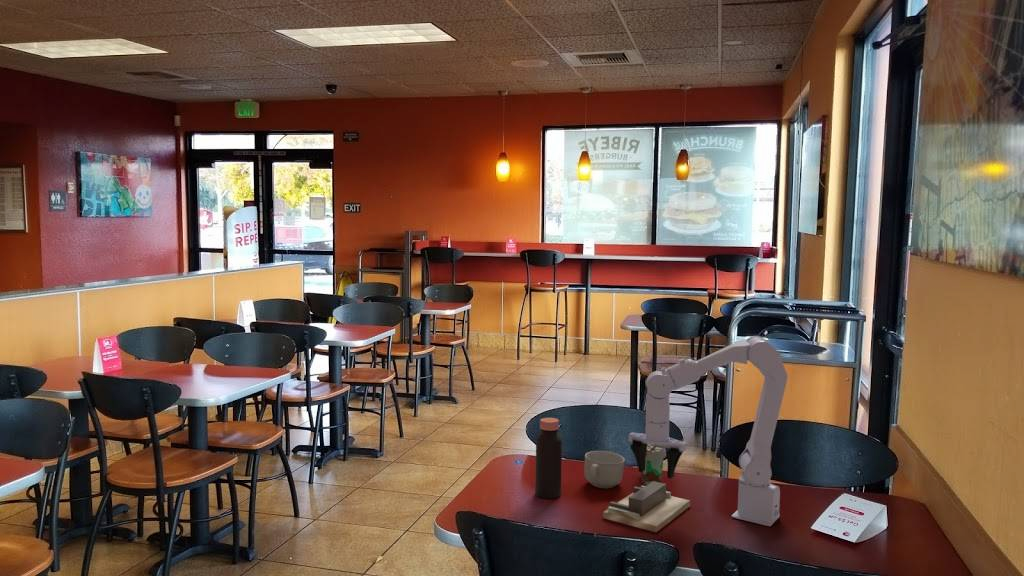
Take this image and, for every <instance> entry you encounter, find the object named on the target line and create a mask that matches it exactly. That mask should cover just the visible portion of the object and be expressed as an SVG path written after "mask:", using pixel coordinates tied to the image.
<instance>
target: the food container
mask: <svg viewBox="0 0 1024 576" xmlns="http://www.w3.org/2000/svg"><path fill="white" fill-rule="evenodd" d="M666 452H667V450H666V448H665V447H660V446H655V445H650V444H647V449H646V458H645V471H643V472H639V475H640V474H641V476H642V479H643V481H644V483H643V486H644V485H645V486H647V485H648V484H650V483H651V482H653V481H655V482H659V483H662V476H663V468H664V467H663V465H664V458H667V455H666ZM641 476H640V477H641ZM642 479H641V480H642ZM643 481H642V482H643Z"/></svg>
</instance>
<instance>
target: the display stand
mask: <svg viewBox="0 0 1024 576" xmlns="http://www.w3.org/2000/svg"><path fill="white" fill-rule="evenodd" d="M644 487H645V486H644V484H643V485H641V486H640V488H644ZM633 494H635V493H634V491H633V492H632V493H630V494H628V495H627V496H626V497H624V498H622V499H621V500H619V501H618V502H617V503H620V504H624V505H628V506H629V497H630V496H632V495H633ZM690 506H691V500H689V499H686V498H681V497H677V496H673V495H672V492H671V491H667V490H666V500H664V501H663V502H661V503H660V504H659V505H657V506H656V507H654V508H653V509H652V510H650V511H649V512H647V513H646V514H645V515H643V516H642V517H640V514H638V513H634V512H630V511H626V510H622V509H618V508H615V507H611V506H610V505H609V506H607V508H606V510H604V511H603V512H602V518H603V519H605V520H609V521H613V522H616V523H620V524H623V525H628V526H632V527H635V528H638V529H643V530H647V531H650V532H653V533H657V532H659V531H660V530H661V529H662V528H664V527H665V526H667V525H668V524H669V523H670V522H672V521H673V520H675V518H676V517H677V518H678V516H679V515H681V514H682V513H684V511H686V510H687V509H688V508H690Z"/></svg>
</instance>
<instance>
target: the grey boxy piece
mask: <svg viewBox="0 0 1024 576" xmlns="http://www.w3.org/2000/svg"><path fill="white" fill-rule="evenodd" d="M666 491H667V483H663V482H661V483H659V482H655V481H653V482H651V483H650V484H648V485H647V486H645V487H644V488H641V486H634V487H633V492H634V493H635V494H633V495H632V496H630V497H629V506H628V505H624V504H620V503H618V502H616V501H610V502H609V506H611V507H615V508H618V509H622V510H626V511H630V512H634V513H638V514H640V517H642V516H643V515H645V514H646V513H647V512H649V511H650V510H652V509H653V508H654V507H656V506H657V505H659V504H660V503H661V502H663V501H664V500H666Z"/></svg>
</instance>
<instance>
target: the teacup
mask: <svg viewBox="0 0 1024 576" xmlns="http://www.w3.org/2000/svg"><path fill="white" fill-rule="evenodd" d="M625 461H626V460H625V457H624V456H622V455H620V454H619V453H615V452H612V451H607V450H594V451H593V450H591V451H588V452H586V453H585V455H584V467H583V468H584V477H585V479H586V480H587V482H589V484H591V486H594V487H596V488H598V489H611V488H614V487H616V486H617V485H618V484H620V483H621V481H622V479H623V474H624V469H625V467H624V466H625Z"/></svg>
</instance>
